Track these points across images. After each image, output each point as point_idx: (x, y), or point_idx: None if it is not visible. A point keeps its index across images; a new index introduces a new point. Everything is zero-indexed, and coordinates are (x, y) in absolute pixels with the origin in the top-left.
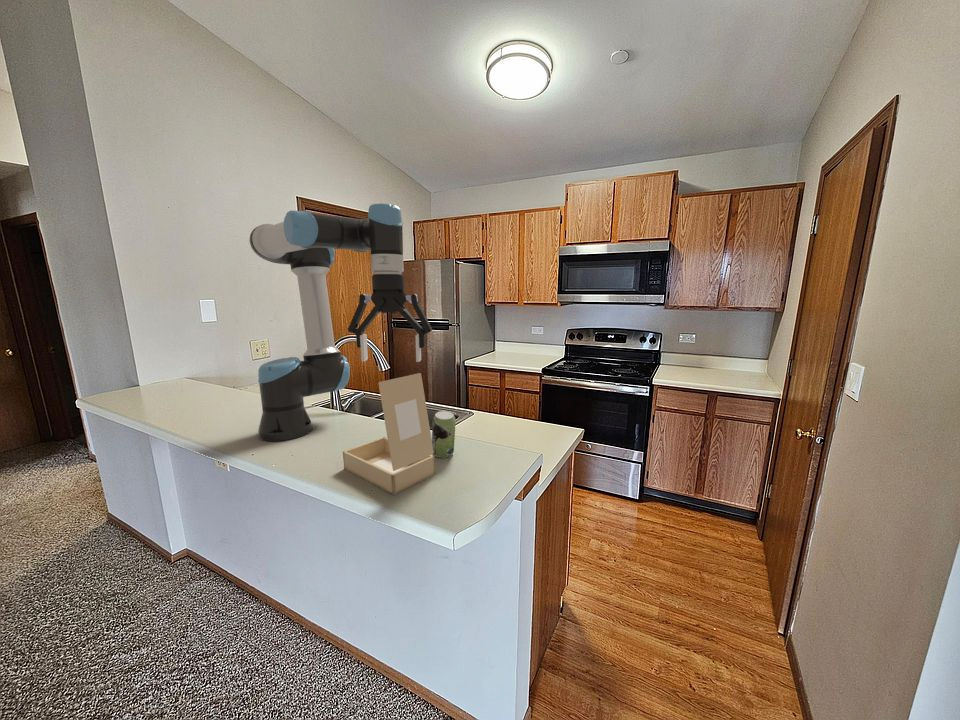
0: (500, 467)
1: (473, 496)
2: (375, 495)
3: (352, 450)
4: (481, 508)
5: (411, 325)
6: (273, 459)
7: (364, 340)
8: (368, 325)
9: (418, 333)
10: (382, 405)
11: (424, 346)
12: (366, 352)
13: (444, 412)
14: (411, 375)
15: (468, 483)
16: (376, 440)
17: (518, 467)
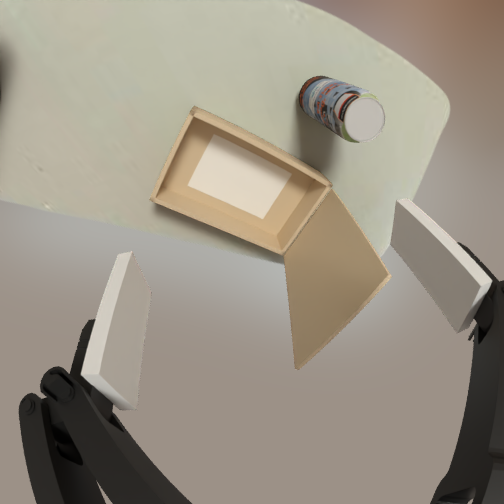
0: (410, 142)
1: (375, 222)
2: (251, 243)
3: (160, 185)
4: (381, 242)
5: (469, 387)
6: (30, 191)
7: (129, 368)
8: (123, 447)
9: (475, 334)
10: (292, 329)
11: (461, 244)
12: (131, 294)
13: (364, 105)
14: (365, 304)
15: (370, 193)
16: (183, 133)
17: (430, 142)
